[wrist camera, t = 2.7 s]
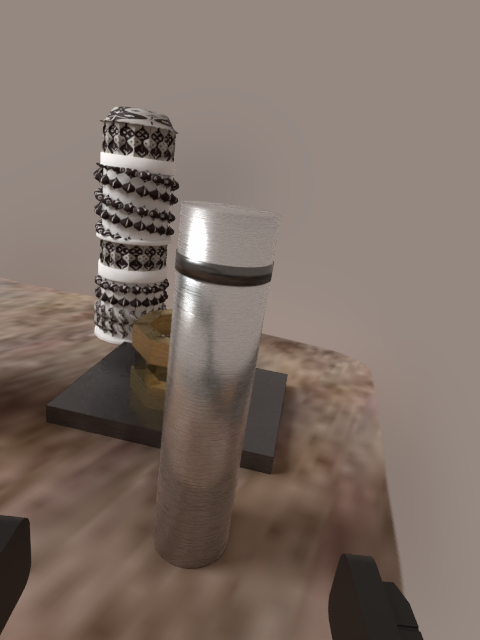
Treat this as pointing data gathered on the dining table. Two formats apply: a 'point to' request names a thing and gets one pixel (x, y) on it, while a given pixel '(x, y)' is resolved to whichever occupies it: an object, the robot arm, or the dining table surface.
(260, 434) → the collar stand
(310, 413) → the dining table surface
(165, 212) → the decorative candle
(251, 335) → the metal thermos flask
